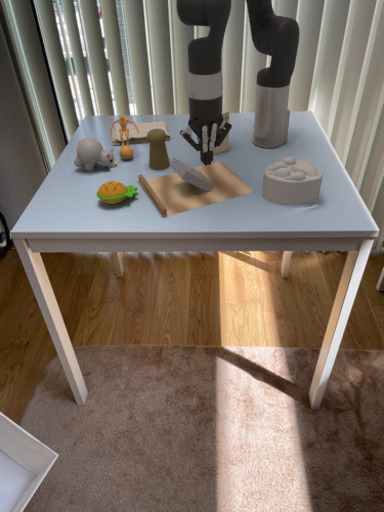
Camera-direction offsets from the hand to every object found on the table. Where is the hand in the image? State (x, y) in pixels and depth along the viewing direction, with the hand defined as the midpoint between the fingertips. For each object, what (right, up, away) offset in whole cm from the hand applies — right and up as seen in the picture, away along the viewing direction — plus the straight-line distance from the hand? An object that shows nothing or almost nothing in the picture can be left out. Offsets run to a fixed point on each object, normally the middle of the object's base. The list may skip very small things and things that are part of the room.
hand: (206, 163), depth 102 cm
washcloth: (-20, +15, +30) cm, 39 cm away
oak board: (-3, -6, +3) cm, 7 cm away
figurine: (-22, +6, +19) cm, 30 cm away
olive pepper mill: (-13, +1, +13) cm, 18 cm away
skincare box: (+4, +7, +19) cm, 21 cm away
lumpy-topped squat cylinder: (+20, -8, 0) cm, 22 cm away
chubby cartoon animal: (-30, +2, +15) cm, 33 cm away
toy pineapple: (-22, -9, +1) cm, 24 cm away
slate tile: (-1, -4, +3) cm, 5 cm away
